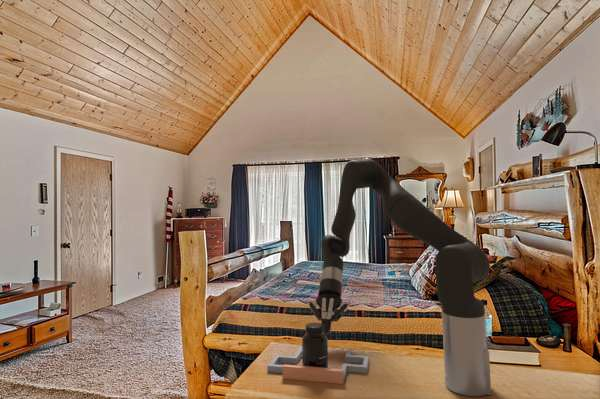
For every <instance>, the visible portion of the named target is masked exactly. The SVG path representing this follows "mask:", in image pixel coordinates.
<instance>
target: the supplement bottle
mask: <svg viewBox="0 0 600 399" xmlns="http://www.w3.org/2000/svg"><path fill="white" fill-rule="evenodd" d="M323 333H324V326H323V324H321V322H309V323H308V322H307V323H306V324H305V334H304V335H303V336H302V338H301V346H302V357H301V359H302V361H301V362H302V365H301V366H309V367H321V368H329V350H328V349H329V347H328V346H329V342H328V337H327V334H323Z"/></svg>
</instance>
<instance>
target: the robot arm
mask: <svg viewBox="0 0 600 399" xmlns="http://www.w3.org/2000/svg"><path fill="white" fill-rule="evenodd" d="M367 188H369V189H372V190H373V191H375V192H376V193H377V194H378V195H379V196H380V197H381V199H382V204H383V209H384V213H385V215H386V216H387V218H388V219H389V220H390V221H391V222H392V223H393V224H395V225H396V226H397V228H399V229H400V230H401V231H403V232H404V233H405V234H407V235H408V236H411V237H413V238H415V239H417V240H419V241H421V242H423V243H425V244H427V245H429V246H430V247H432V248H433V249H435V250H436V251H437V254H436V258H435V261H434V262H435V264H434V266H435V268H434V269H435V281H436V290H437V296H438V300H439V303H440V306H441V317H442V319H441V320H442V322H441V323H442V340H443V341H442V343H443V364H444V365H443V366H444V382H445V383H444V384H445V387H446V388H447V389H448V390H450V391H452V392H453V393H456V394H458V395H462V396H467V397H482V396H486V395H489V396H491V395H492V382H491V381H492V380H491V362H490V361H491V360H490V351H489V349H488V348H487V335H486V334H487V331H486V330H487V329H486V311H485V309H486V308H485V303H484V302H483V301H482V300H481V299H479V298H477V297H476V296H475V292H474V283H475V282H478V281H481V280H483V279H485V278H486V277H487V276H488V274H490V270H491V262H490V259H489V257H488V255H487V253H486V252H485V251H484V250H483V249H482V248H481V247H480V246H478V244H476V243H475V242H473V241H471V240H470V239H468V238H467V237H465V236H464V235H462V234H461V233H460V232H458V231H456V230H454V229H453V228H452V227H451V226H450V225H448V224H447V223H446V222H445V221H444V220H442V218H440V217H439V216H438V215H436V214H435V213H434V211H432V210H430V209H429V208H428V207H427V206H426V205H425V204H424V203H423V202H421V201H420V200H419V199H418V198H417V197H415V196H414V195H413V194H411V193H410V192H408V190H406V189H405V188H404V187H403V186H402V185H401V184H400V183H398V182H397V181H396V180H394V178H393V177H392V176H391V175H390V174H389V173H388V172H387V171H386V170H385V169H384V168H383V167H382V166H381V165H380V163H378V162H377V161H375V160H373V159H370V158H364V159H363V158H362V159H353V160H349V161H348V162H346V164H345V165H344V166H343V170H342V175H341V181H340V187H339V195H338V203H337V204H338V205H337V209H336V212H335V216H334V219H333V222H332V223H331V224H332V225H331V228H330V229H331V233H332V234H333V235H332V234H326V235H324V236H323V237H322V239H321V242H320V248H321V253H322V254H321V255H322V260H323V261H322V262H323V264H322V270H321V274H320V280H319V286H318V293H317V297H316V298H315V301H313V302H312V301H310V302H308V305H309V308H310V310H311V312H312V313H313V315H314V316H315V318H316V319H317V320H318V321H320V323H321V324H323V326H324V333H323V334H324V335H328V334H329V333H330V332H331V330H332V323H333V322H336V323H337V322H338V321H339V320H340V319H341V318H342V317H343V316H344V315H345V314H346V313H347V312H348V311H349V308H348V307H349V306H348V304H347V303H344V302H343V300H342V294H343V292H342V291H343V280H344V279H343V271H344V260H343V259H342V258H344V257H346V256H348V254H349V252H350V248H351V247H350V245H351V244H350V240H351V239H350V238H351V233H352V230H353V226H354V225H355V222H356V216H357V215H356V209H355V206H354V202H353V198H354V195H355V192H356V191H357V190H358V189H367ZM318 307H319V309H320V311H321V313H320V312H319V310H318Z"/></svg>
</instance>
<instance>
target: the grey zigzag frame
mask: <svg viewBox="0 0 600 399" xmlns="http://www.w3.org/2000/svg"><path fill="white" fill-rule="evenodd" d="M301 359H302V345H301V346H300V347H299V348H298V350H297V351H296V352H295V354H294V356H292V355H284V354H283V355H282V354H281V355H279V354H276V355H275V356H274V357H273V358H272V360H271V361H269V363H268V364H267V372H269V373H278V374H279V373H280V374H281V373H282V379H284V380H285V379H286V380H296V381H305V382H306V381H307V382H318V383H326V382H327V383H328V384H339V385H344V383H345V380H346V377H347V373H357V372H359V373H360V374H368V370H369V363H370V355H369V356H368V355H356V354H353V352H352V349H347V350H346V353H345V358H344V359H345V362H346V363H342V365H341V368H331V367H328V368H321V367H309V366H302V365H297V364H298V363H299V361H300V360H301ZM280 363H283V364H280ZM351 363H359V364H351ZM294 364H295V365H294Z"/></svg>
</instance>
